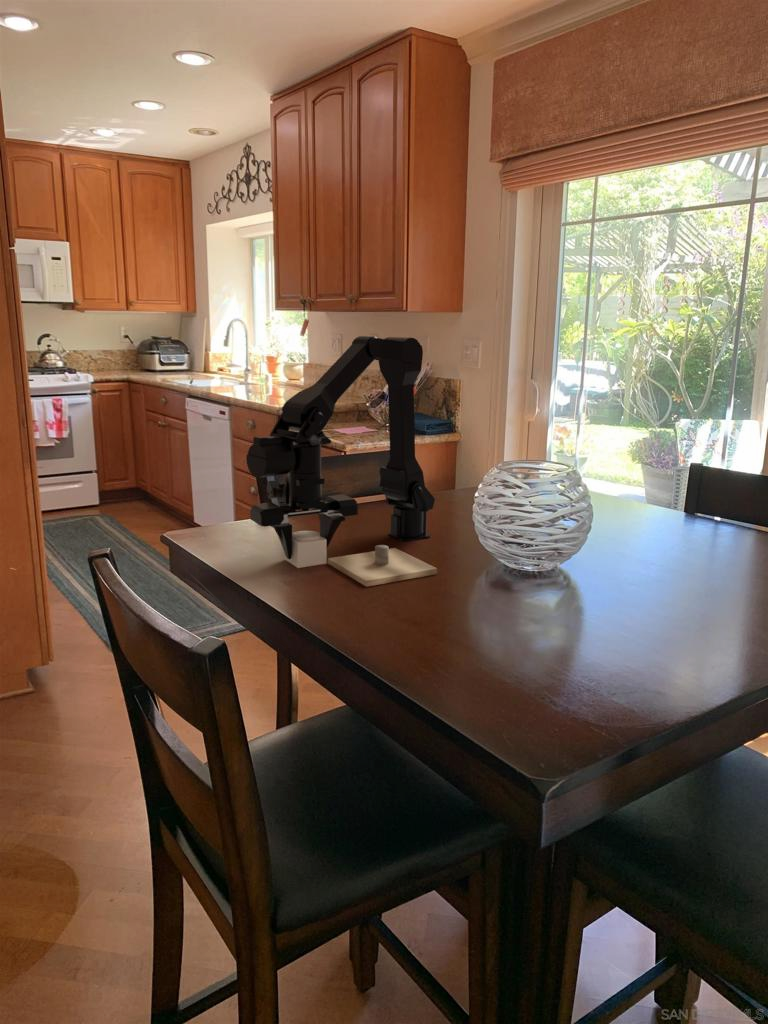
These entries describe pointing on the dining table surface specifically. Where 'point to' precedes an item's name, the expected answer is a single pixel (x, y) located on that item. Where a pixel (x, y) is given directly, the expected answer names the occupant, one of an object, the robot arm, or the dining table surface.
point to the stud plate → (381, 566)
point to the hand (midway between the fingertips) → (305, 556)
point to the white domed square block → (308, 549)
